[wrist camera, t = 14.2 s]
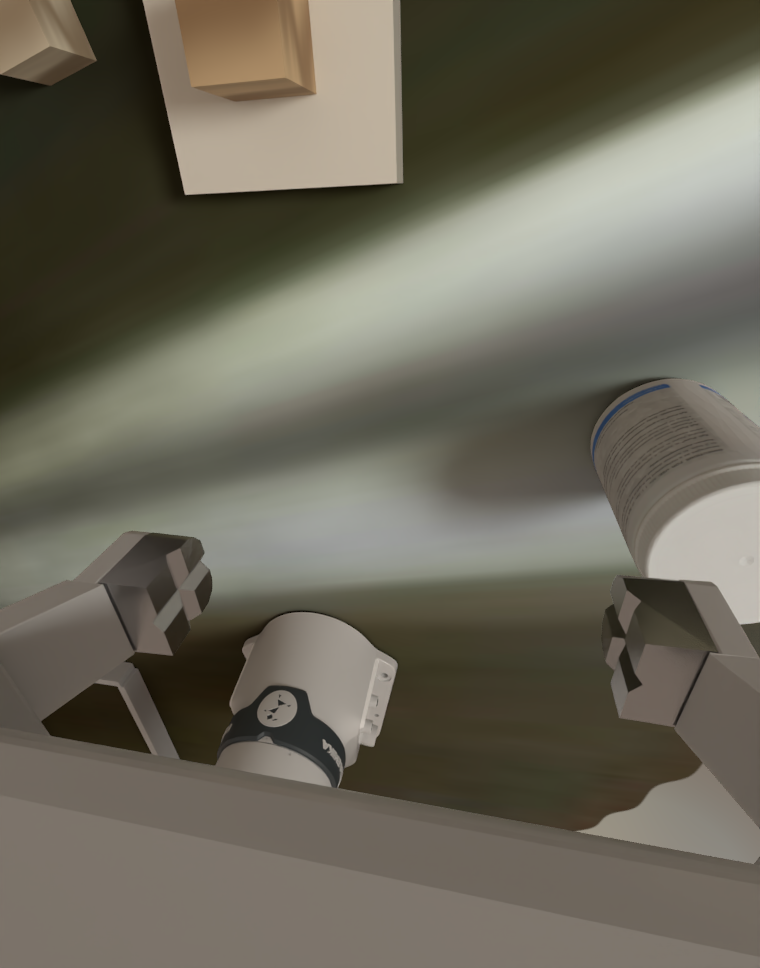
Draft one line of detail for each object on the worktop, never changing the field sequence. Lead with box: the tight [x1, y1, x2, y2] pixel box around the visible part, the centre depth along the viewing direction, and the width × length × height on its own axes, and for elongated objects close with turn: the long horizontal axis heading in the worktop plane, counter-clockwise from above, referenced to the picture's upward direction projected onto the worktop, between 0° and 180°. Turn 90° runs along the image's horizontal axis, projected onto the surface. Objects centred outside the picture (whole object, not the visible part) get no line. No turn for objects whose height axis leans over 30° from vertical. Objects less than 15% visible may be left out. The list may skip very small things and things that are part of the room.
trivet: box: [143, 0, 403, 195], centre depth 28 cm, size 14×14×2 cm
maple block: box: [0, 0, 97, 86], centre depth 29 cm, size 4×4×4 cm
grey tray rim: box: [95, 662, 179, 759], centre depth 74 cm, size 28×26×3 cm
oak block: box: [175, 0, 317, 102], centre depth 25 cm, size 5×5×5 cm
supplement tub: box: [590, 379, 760, 624], centre depth 30 cm, size 10×10×15 cm
